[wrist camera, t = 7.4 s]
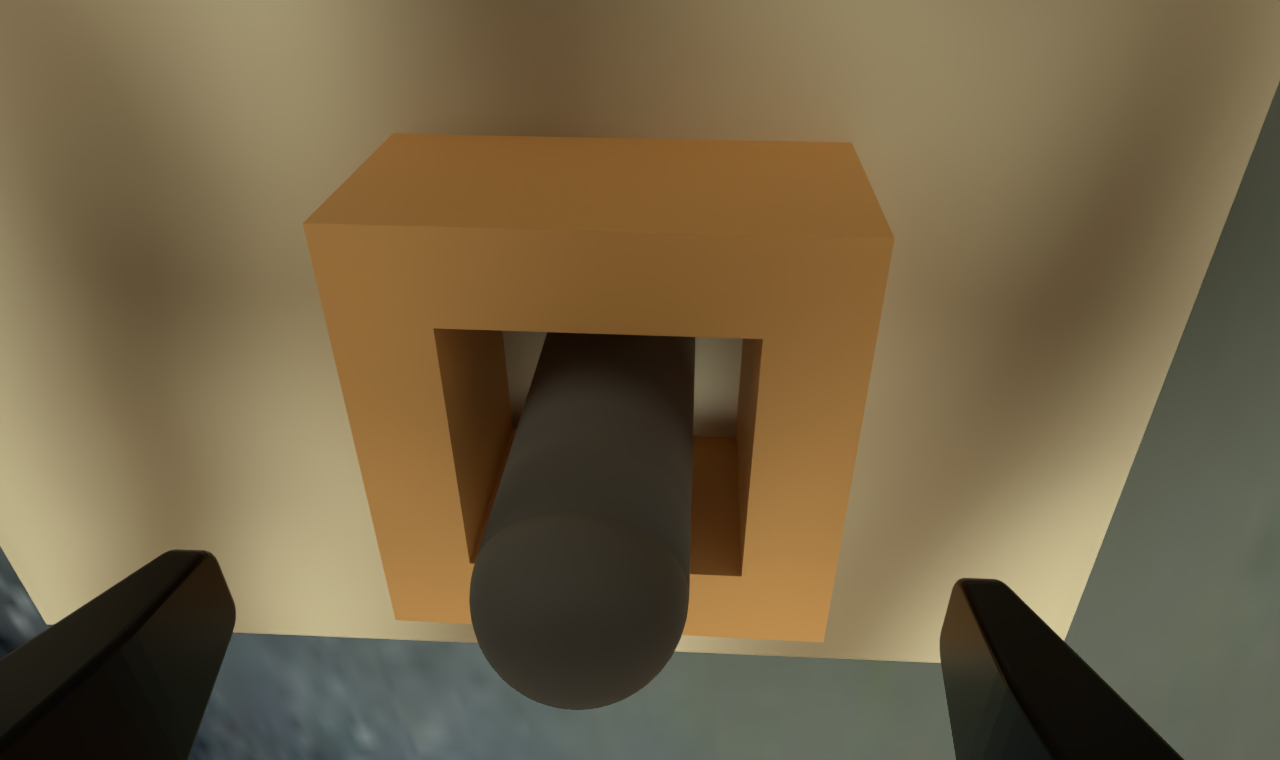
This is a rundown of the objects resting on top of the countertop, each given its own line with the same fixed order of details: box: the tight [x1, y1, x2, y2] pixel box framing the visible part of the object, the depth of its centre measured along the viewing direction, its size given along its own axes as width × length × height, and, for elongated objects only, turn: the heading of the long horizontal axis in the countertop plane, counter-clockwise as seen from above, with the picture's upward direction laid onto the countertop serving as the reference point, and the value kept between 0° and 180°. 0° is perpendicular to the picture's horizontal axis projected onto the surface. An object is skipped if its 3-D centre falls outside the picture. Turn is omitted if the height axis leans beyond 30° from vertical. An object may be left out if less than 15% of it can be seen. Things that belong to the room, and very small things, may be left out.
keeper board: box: [0, 0, 1280, 710], centre depth 11 cm, size 20×14×8 cm
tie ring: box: [303, 134, 895, 643], centre depth 11 cm, size 6×6×3 cm
